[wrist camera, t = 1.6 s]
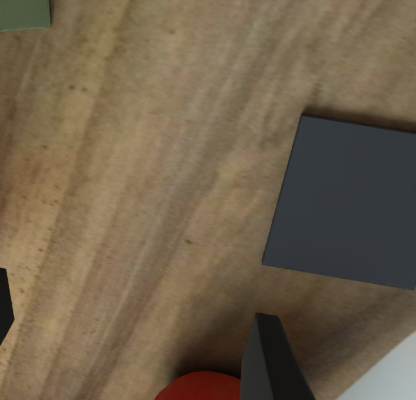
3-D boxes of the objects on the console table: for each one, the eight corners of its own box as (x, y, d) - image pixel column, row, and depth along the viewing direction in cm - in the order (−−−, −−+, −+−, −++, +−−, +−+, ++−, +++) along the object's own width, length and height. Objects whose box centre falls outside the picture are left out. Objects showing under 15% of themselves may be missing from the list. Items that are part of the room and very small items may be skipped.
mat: (261, 260, 21) (261, 265, 21) (301, 113, 17) (302, 115, 17) (410, 286, 21) (413, 290, 21) (489, 143, 17) (494, 146, 16)
